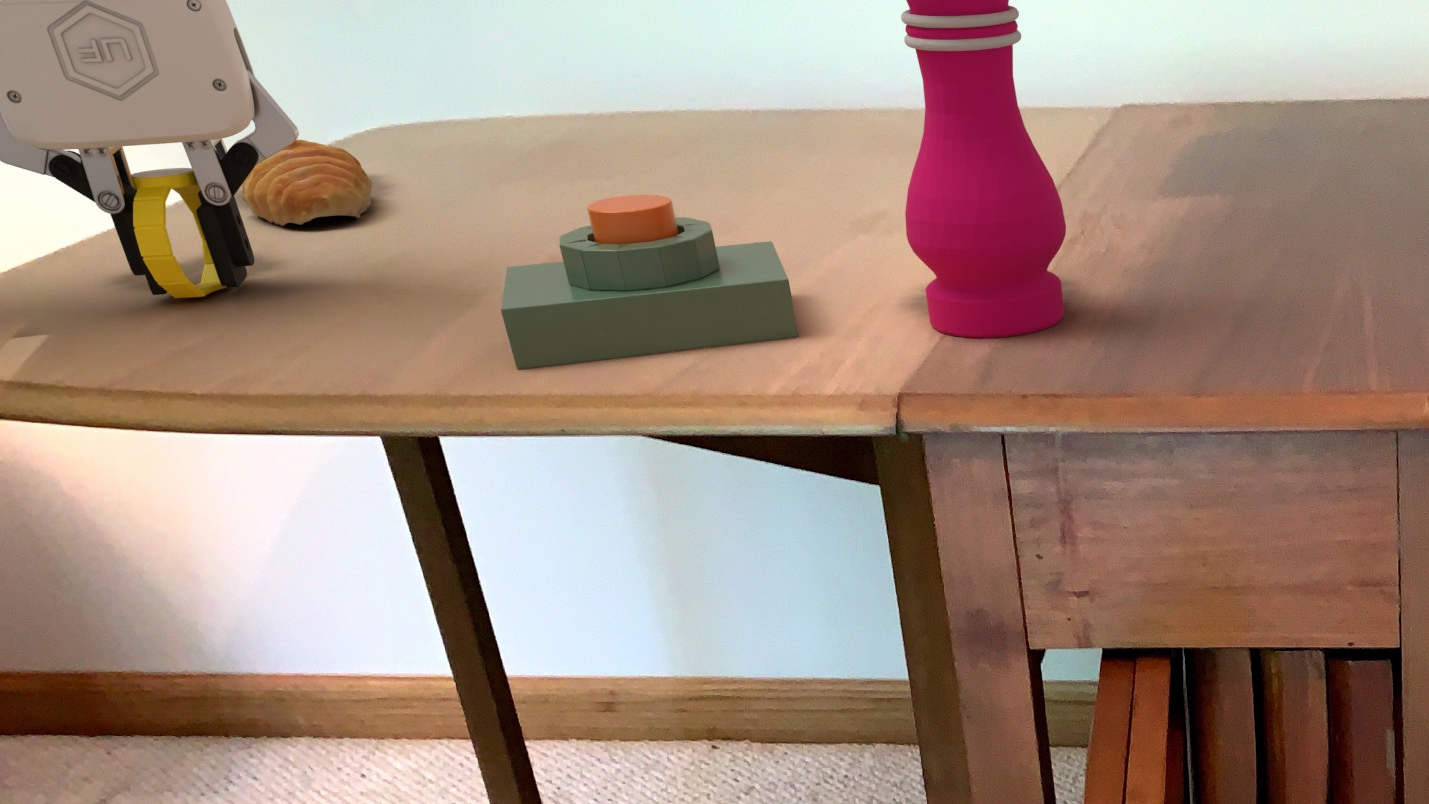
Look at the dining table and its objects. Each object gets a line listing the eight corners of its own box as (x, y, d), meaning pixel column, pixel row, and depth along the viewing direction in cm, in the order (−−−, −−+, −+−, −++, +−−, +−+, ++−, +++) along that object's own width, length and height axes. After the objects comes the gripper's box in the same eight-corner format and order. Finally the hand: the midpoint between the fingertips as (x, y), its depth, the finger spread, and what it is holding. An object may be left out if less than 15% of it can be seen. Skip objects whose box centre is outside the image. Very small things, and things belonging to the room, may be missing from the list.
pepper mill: (913, 308, 83) (843, -162, 72) (1061, 294, 84) (1014, -166, 74) (927, 349, 77) (854, -157, 66) (1087, 332, 78) (1039, -161, 68)
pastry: (395, 220, 101) (375, 152, 99) (267, 238, 97) (243, 169, 95) (364, 194, 107) (344, 130, 105) (243, 211, 104) (220, 145, 102)
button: (596, 255, 76) (586, 214, 75) (595, 237, 79) (586, 198, 78) (681, 246, 77) (673, 207, 76) (677, 230, 80) (669, 191, 79)
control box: (516, 370, 75) (488, 266, 72) (521, 324, 81) (495, 227, 79) (799, 337, 78) (780, 238, 76) (782, 295, 85) (765, 203, 83)
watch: (204, 307, 84) (159, 183, 81) (145, 310, 84) (97, 185, 81) (260, 277, 89) (219, 159, 86) (205, 280, 89) (162, 161, 86)
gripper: (-188, -114, 72) (-7, 321, 81) (247, -125, 77) (370, 286, 86) (-129, -122, 78) (34, 284, 87) (271, -131, 83) (384, 253, 92)
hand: (200, 282), depth 86 cm, fingers closed on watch, 2 cm apart
